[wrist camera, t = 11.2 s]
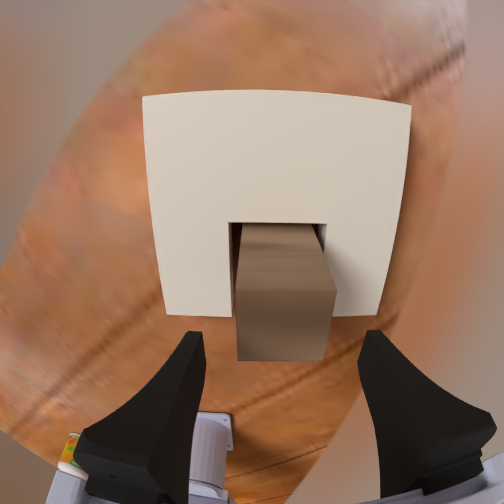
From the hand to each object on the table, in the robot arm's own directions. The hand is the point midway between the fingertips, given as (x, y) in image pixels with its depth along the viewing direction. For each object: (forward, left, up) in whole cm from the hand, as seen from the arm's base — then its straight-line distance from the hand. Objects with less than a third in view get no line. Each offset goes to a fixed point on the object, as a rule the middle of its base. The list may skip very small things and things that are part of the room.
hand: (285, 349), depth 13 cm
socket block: (+3, 0, -10) cm, 11 cm away
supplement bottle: (-37, +30, -10) cm, 49 cm away
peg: (0, 0, -10) cm, 10 cm away
